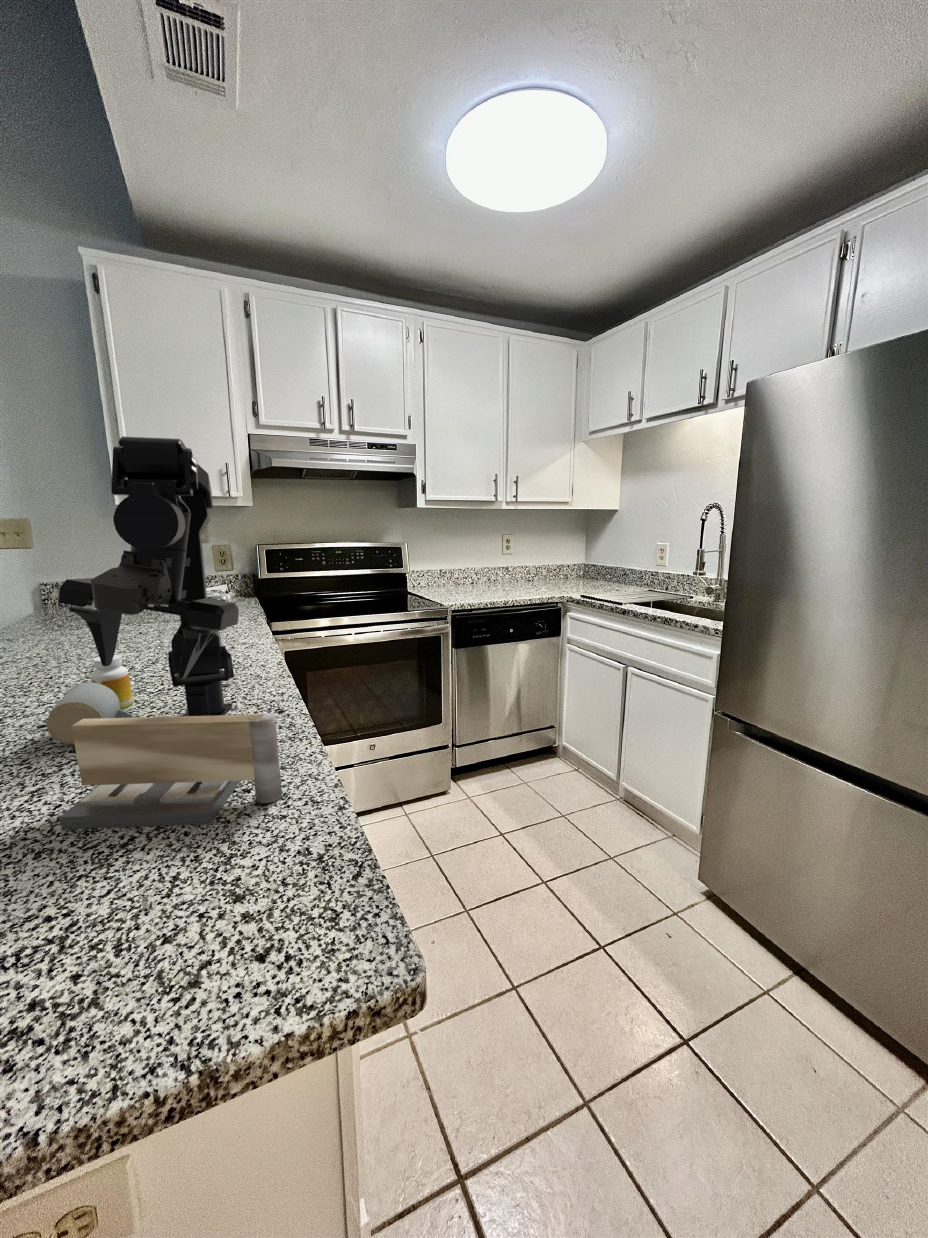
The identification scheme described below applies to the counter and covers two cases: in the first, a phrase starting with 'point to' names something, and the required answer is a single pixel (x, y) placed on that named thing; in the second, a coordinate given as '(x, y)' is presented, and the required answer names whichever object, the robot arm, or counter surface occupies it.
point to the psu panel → (149, 805)
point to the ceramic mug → (83, 709)
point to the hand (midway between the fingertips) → (144, 671)
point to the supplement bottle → (114, 680)
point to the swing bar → (180, 751)
